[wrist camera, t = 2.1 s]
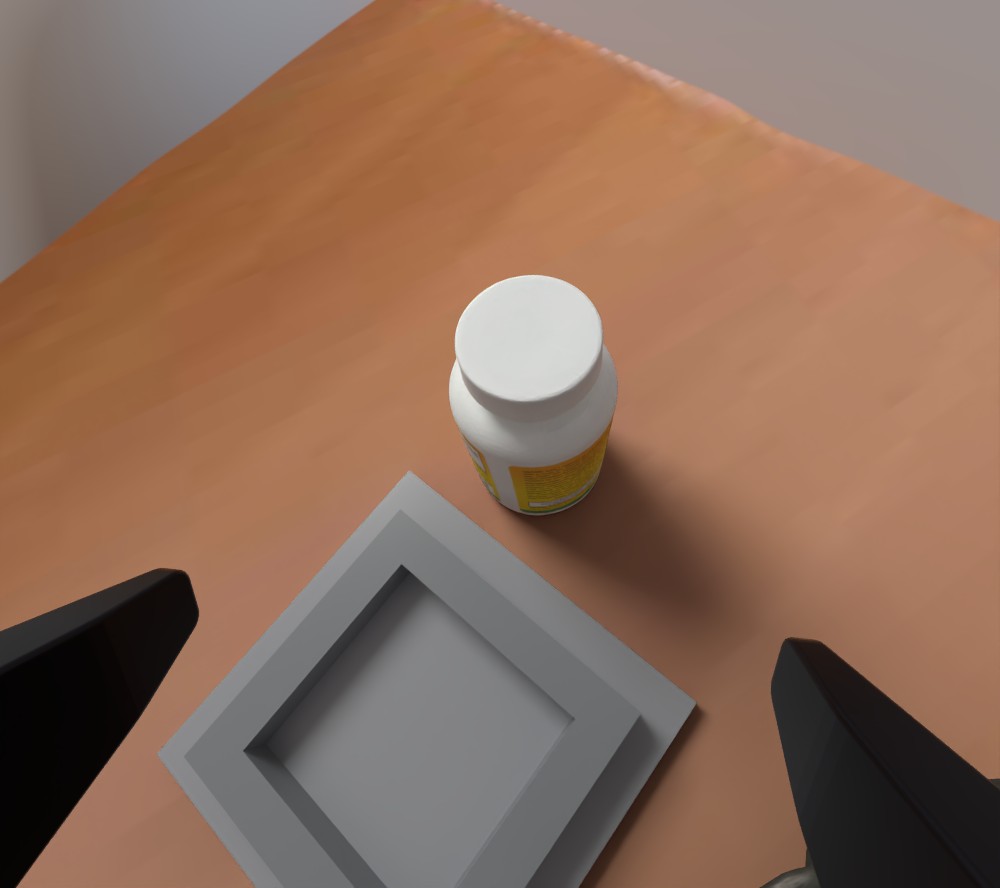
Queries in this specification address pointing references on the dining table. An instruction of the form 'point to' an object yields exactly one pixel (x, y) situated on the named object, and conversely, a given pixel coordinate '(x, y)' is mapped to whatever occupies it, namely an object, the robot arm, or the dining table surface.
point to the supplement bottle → (533, 392)
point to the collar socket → (425, 720)
